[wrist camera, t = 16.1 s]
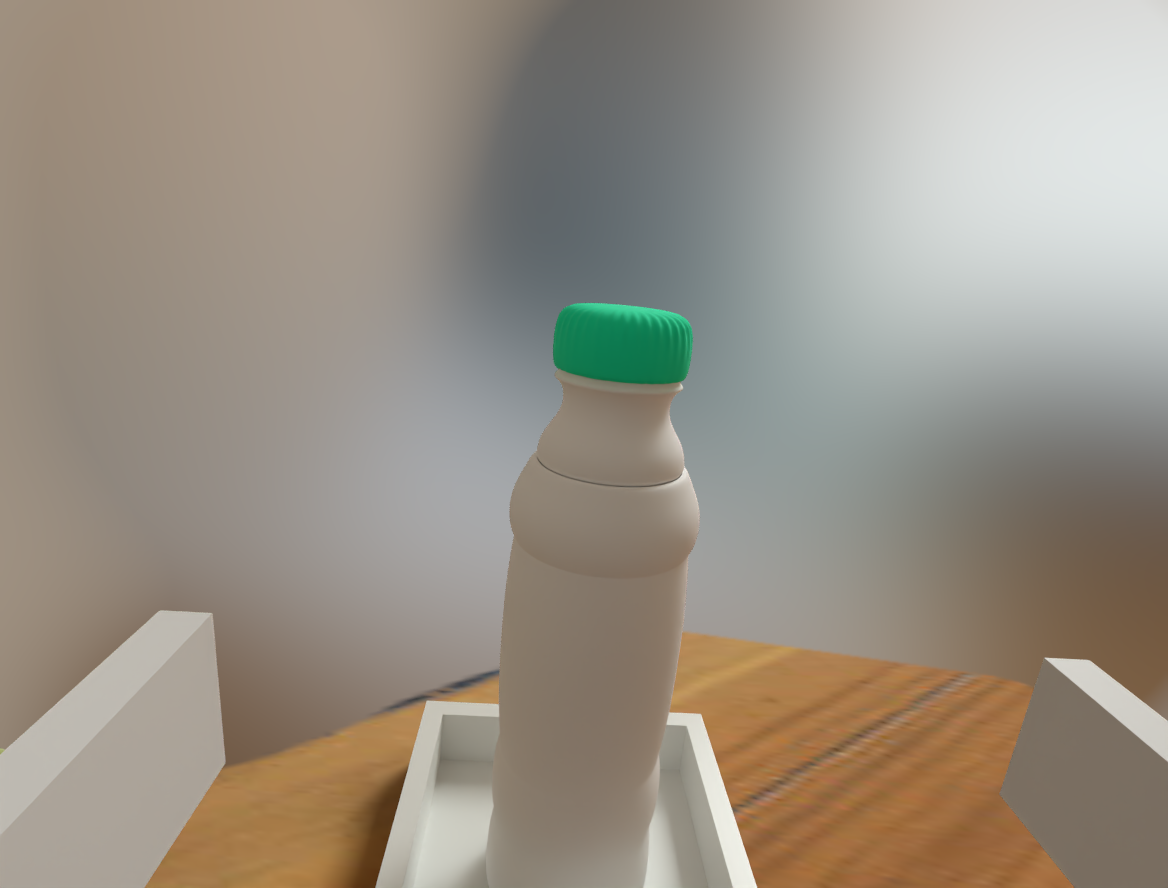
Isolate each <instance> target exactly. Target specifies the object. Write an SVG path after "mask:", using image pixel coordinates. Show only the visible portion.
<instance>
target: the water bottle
mask: <svg viewBox="0 0 1168 888" xmlns="http://www.w3.org/2000/svg"><path fill="white" fill-rule="evenodd" d="M692 342H693V336H692V328H691V326H690V324H689V322H688V321H687V320H686V319H685V318H683V317H682V316H680V315H679V314H675V313H672V312H668V311H663V310H658V309H652V308H645V307H636V306H627V305H617V304H601V303H579V304H573V305H570V306H567V307H566V308H564V309H563V310H562V311H561V313H560V314H559V317H558V319H557V323H556V327H555V333H554V344H553V358H554V364H555V366H556V367H557V368H558V371H556V372H555V377H556V378H557V379H558V380H559V381H560V383H561V384H562V387H563V393H564V394H563V402H562V405H561V407H560V409H559V411H558V413H557V414H556V416H555V417H554V418H553V419H552V421H551V422H550V423H549V425H548V426H547V427H546V429H545V430H544V432H543V433H542V435H541V438H540V440H539V443H538V447H537V451H536V452H535V453H534V454H533V455H532V456H531V457H530V459H529V461H528V462H527V464H526V466H525V467H524V469H523V471H522V472H521V474H520V476H519V478H518V480H517V482H516V484H515V486H514V489H513V492H512V496H511V501H510V523H511V528H512V531H513V534H514V539H513V544H512V550H511V556H510V561H509V568H508V575H507V583H506V591H505V601H504V612H503V624H502V637H501V654H500V674H499V725H500V734H499V738H498V741H497V745H496V749H495V754H494V761H493V771H492V796H493V805H494V806H493V810H492V814H491V819H490V825H489V832H488V840H487V851H486V874H487V880H488V885H489V888H643V887H644V883H645V877H646V871H647V864H648V854H649V826H650V823H651V820H652V817H653V814H654V810H655V806H656V801H657V795H658V788H659V777H660V761H659V751H660V748H661V744H662V741H663V737H664V733H665V729H666V725H667V720H668V715H669V710H670V705H671V700H672V694H673V689H674V683H675V677H676V671H677V665H678V658H679V651H680V644H681V637H682V629H683V621H684V613H685V602H686V591H687V575H688V555H689V554H690V552H691V550H692V549H693V547H694V544H695V541H696V539H697V535H698V530H699V521H700V520H699V519H700V518H699V517H700V516H699V506H698V501H697V498H696V495H695V491H694V488H693V485H692V482H691V480H690V476H689V474H688V472H687V470H686V468H685V467H684V453H683V449H682V446H681V443H680V441H679V439H678V437H677V435H676V433H675V431H674V429H673V426H672V424H671V420H670V413H669V412H670V404H671V401H672V399H673V397H674V396H675V395H676V394H677V393H678V392H680V391H682V389H683V387H682V385H681V381H683V380H684V379H685V378H686V376H687V373H688V370H689V366H690V361H691V354H692Z"/></svg>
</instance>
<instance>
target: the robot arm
mask: <svg viewBox="0 0 1168 888" xmlns="http://www.w3.org/2000/svg"><path fill="white" fill-rule="evenodd" d="M224 764H225V752H224V740H223V730H222V719H221V706H220V695H219V684H218V672H217V661H216V649H215V638H214V627H213V615H212V613H198V612H179V611H159V612H158V613H156V614H155V615H154V616H153V617H152V618H151V619H150V620H149V621H148V622H146V623H145V625H143V626H142V627H141V628H140V629H139V630H138V631H136V632H135V633H134V634H133V635H132V636H131V637H130V638H129V639H128V640H127V641H125V642H124V643H123V644H122V645H121V646H120V647H119V648H118V649H117V650H115V652H113V653H112V654H111V655H110V656H109V657H108V658H107V659H105V660H104V661H103V662H102V663H101V664H100V665H99V666H98V667H97V668H96V669H94V670H93V671H92V672H91V673H90V674H89V675H88V676H87V677H86V678H84V679H83V680H82V681H81V682H80V683H79V684H78V685H77V686H76V687H74V688H73V689H72V690H71V691H70V692H69V693H68V694H67V695H66V696H65V697H63V698H62V699H61V700H60V701H59V702H58V703H57V704H56V705H55V706H54V707H52V708H51V709H50V710H49V711H48V712H47V713H46V714H45V715H43V716H42V717H41V718H40V719H39V720H38V721H37V722H36V723H35V724H34V725H33V726H31V727H30V728H29V729H28V730H27V731H26V732H25V733H24V734H22V735H21V736H20V737H19V738H18V739H17V740H16V741H15V742H14V743H12V745H10V746H9V747H8V748H7V749H6V750H5V751H4V752H2V753H1V754H0V888H144V887H145V886H146V884H147V883H148V881H149V880H150V878H151V876H152V875H153V873H154V872H155V870H156V869H157V867H158V866H159V864H160V863H161V861H162V860H163V858H164V857H165V855H166V853H167V852H168V850H169V849H170V847H171V846H172V844H173V843H174V841H175V840H176V838H177V837H178V835H179V833H180V832H181V830H182V829H183V827H184V826H185V824H186V823H187V821H188V820H189V818H190V817H191V815H192V814H193V812H194V810H195V809H196V807H197V806H198V804H199V803H200V801H201V800H202V798H203V797H204V795H205V794H206V792H207V790H208V789H209V787H210V786H211V784H212V783H213V781H214V780H215V778H216V777H217V775H218V774H219V772H220V770H221V769H222V767H223V766H224ZM1000 796H1001V797H1002V798H1003V799H1004V801H1005V802H1006V803H1007V804H1008V805H1009V807H1010V808H1011V809H1012V810H1013V812H1014V813H1015V814H1016V815H1017V817H1018V818H1019V819H1020V820H1021V822H1022V823H1023V824H1024V825H1025V827H1026V828H1027V829H1028V830H1029V831H1030V833H1031V834H1032V835H1033V836H1034V838H1035V839H1036V840H1037V841H1038V843H1039V844H1040V845H1041V846H1042V848H1043V849H1044V850H1045V851H1046V853H1047V854H1048V855H1049V856H1050V858H1051V859H1052V860H1053V861H1054V862H1055V864H1056V865H1057V866H1058V867H1059V869H1060V870H1061V871H1062V872H1063V874H1064V875H1065V876H1066V877H1067V879H1068V880H1069V881H1070V882H1071V884H1072V885H1073V886H1074V887H1075V888H1168V721H1167V720H1165V719H1164V718H1163V717H1162V716H1160V715H1159V714H1158V713H1156V712H1155V711H1154V710H1153V709H1151V708H1150V707H1149V706H1148V705H1146V704H1145V703H1144V702H1142V701H1141V700H1140V699H1138V698H1137V697H1136V696H1135V695H1133V694H1132V693H1131V692H1129V691H1128V690H1127V689H1126V688H1124V687H1123V686H1122V685H1121V684H1119V683H1118V682H1117V681H1115V680H1114V679H1113V678H1111V677H1110V676H1109V675H1108V674H1106V673H1105V672H1104V671H1102V670H1101V669H1100V668H1099V667H1097V666H1096V665H1095V664H1093V663H1092V662H1091V661H1090V660H1076V659H1058V658H1057V659H1056V658H1044V661H1043V663H1042V667H1041V670H1040V673H1039V676H1038V679H1037V682H1036V685H1035V688H1034V691H1033V694H1032V697H1031V700H1030V703H1029V706H1028V709H1027V712H1026V715H1025V718H1024V721H1023V724H1022V727H1021V730H1020V733H1019V736H1018V739H1017V743H1016V746H1015V749H1014V752H1013V755H1012V758H1011V761H1010V764H1009V767H1008V770H1007V773H1006V776H1005V779H1004V782H1003V785H1002V788H1001V791H1000Z"/></svg>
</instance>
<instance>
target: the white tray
mask: <svg viewBox="0 0 1168 888" xmlns="http://www.w3.org/2000/svg"><path fill="white" fill-rule="evenodd" d="M499 734H500V725H499V704H483V703H462V702H441V701H427V702H426V706H425V709H424V713H423V717H422V720H421V724H420V727H419V731H418V735H417V738H416V742H415V746H414V749H413V753H412V756H411V760H410V764H409V767H408V771H407V775H406V778H405V782H404V785H403V789H402V793H401V796H400V800H399V804H398V807H397V811H396V814H395V818H394V822H393V825H392V829H391V833H390V836H389V840H388V843H387V847H386V851H385V854H384V858H383V862H382V865H381V869H380V872H379V876H378V880H377V883H376V887H375V888H489V885H488V880H487V874H486V851H487V840H488V832H489V825H490V819H491V814H492V810H493V806H494V805H493V796H492V771H493V761H494V754H495V749H496V745H497V741H498V738H499ZM659 761H660V777H659V788H658V795H657V801H656V806H655V810H654V814H653V817H652V820H651V823H650V826H649V854H648V864H647V871H646V877H645V883H644V887H643V888H757V886H756V883H755V880H754V877H753V874H752V870H751V867H750V864H749V861H748V858H747V855H746V852H745V849H744V846H743V843H742V840H741V837H740V833H739V830H738V827H737V824H736V821H735V818H734V815H733V812H732V809H731V806H730V803H729V799H728V796H727V793H726V790H725V787H724V784H723V781H722V778H721V775H720V772H719V769H718V765H717V762H716V759H715V756H714V753H713V750H712V747H711V744H710V741H709V738H708V735H707V731H706V728H705V725H704V722H703V719H702V716H701V714H689V713H669V715H668V720H667V725H666V729H665V733H664V737H663V741H662V744H661V748H660V751H659Z"/></svg>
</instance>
